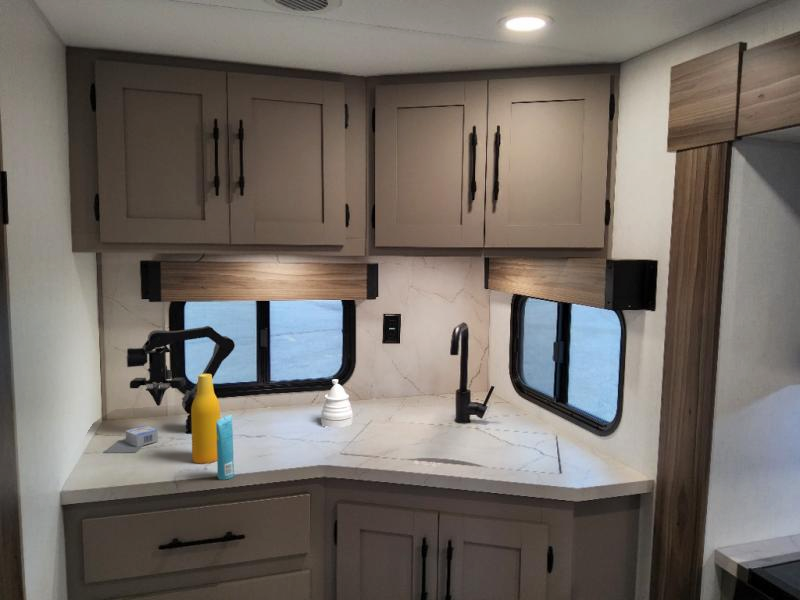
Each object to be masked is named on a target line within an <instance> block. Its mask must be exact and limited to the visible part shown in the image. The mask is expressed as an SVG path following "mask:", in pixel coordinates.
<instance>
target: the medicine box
mask: <svg viewBox="0 0 800 600" xmlns="http://www.w3.org/2000/svg"><path fill="white" fill-rule="evenodd" d="M124 431H125V440H126V442H127V443H129V444H131V445H134V446H136V447H139V446H143V445H144V446H145V445H150V444H152V443H153V444H155V443H156V442H159V434H158V429H156V428H153V427H151V426H148V425H143V426H142V425H141V426H138V427H134V428H131V429H127V430H124ZM144 446H143V447H144Z"/></svg>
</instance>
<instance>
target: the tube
mask: <svg viewBox="0 0 800 600" xmlns="http://www.w3.org/2000/svg"><path fill="white" fill-rule="evenodd" d="M216 423H217V461H216V462H217V463H216V464H217V467H216V469H217V479H218V480H220V481H221V480H224V481H225V480H229V479H232V478H233V477H234V476H235V471H234V470H235V469H234V468H235V467H234V466H235V465H234V462H235V461H234V436H233V435H234V433H233V431H234V430H233V415H232V414H231V413H230V414H228V415H226V416H225V417H221V418H220V419H219V420H217V422H216Z"/></svg>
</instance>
